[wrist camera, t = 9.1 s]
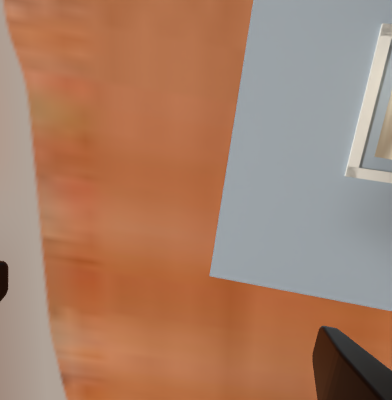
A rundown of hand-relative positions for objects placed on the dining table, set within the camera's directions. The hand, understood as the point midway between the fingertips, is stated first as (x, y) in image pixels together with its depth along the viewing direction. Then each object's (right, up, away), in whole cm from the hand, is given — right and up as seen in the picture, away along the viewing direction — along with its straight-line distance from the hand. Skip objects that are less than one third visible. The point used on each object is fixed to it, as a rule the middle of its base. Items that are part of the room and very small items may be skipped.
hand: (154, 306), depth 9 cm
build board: (+11, +5, +10) cm, 16 cm away
